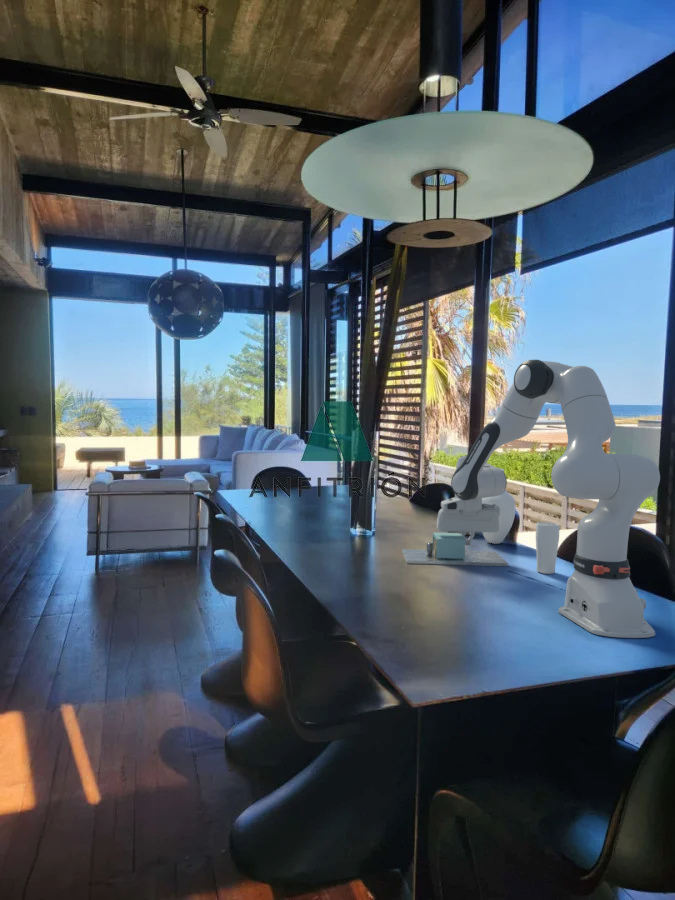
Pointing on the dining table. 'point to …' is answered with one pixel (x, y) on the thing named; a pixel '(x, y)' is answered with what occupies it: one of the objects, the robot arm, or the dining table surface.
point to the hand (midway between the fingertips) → (467, 545)
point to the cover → (449, 545)
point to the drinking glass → (546, 546)
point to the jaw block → (435, 547)
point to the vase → (501, 516)
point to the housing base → (470, 558)
